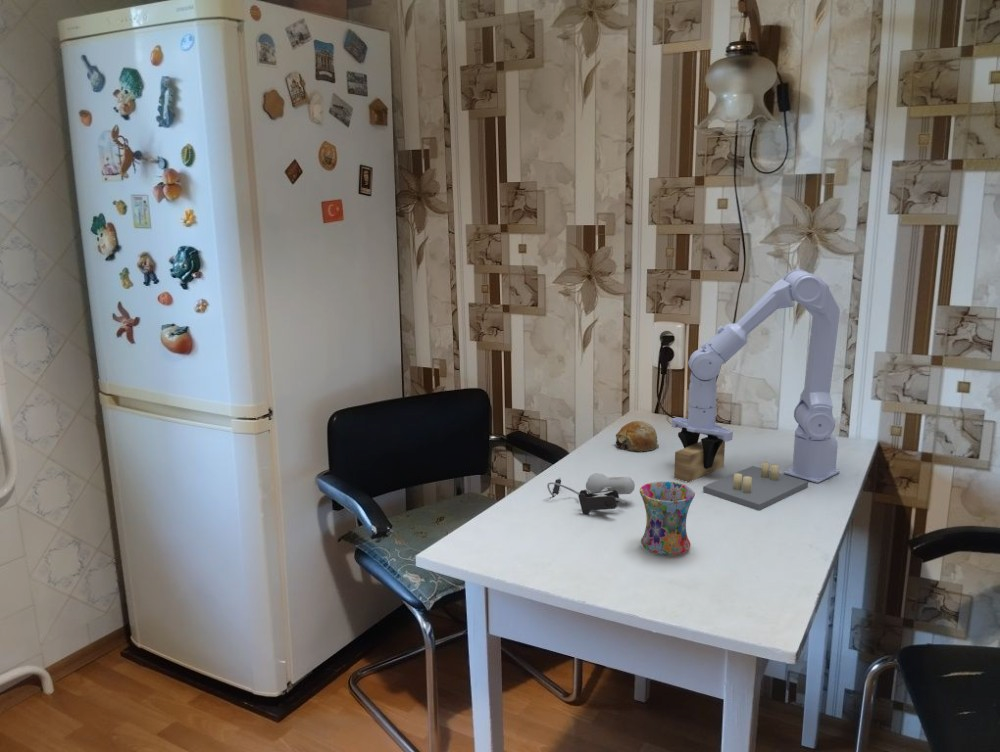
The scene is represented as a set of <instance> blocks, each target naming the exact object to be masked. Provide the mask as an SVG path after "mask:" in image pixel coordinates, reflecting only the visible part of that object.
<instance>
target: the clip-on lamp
mask: <svg viewBox="0 0 1000 752" xmlns="http://www.w3.org/2000/svg"><path fill="white" fill-rule="evenodd" d="M550 485H554V486H553V490H551V489H550ZM635 485H636V484H635V481H634V480H633V478H632V477H629V476H620V477H619V476H611V477H610V476H606V475H605V474H604V473H599V472H596V473H595V472H594V473H593V474H590V476H588V478H587V481H586V483H585V489H583V490H580V491H577V490H575V489H572V488H571V487H568V486H566V485H563V484H562V477H558V478H557V479H555V482H548V483H547V490H548V492H549V494H550V495H551V496H552V497H556V496H557V495H559V493H560V492H559V491H560V488H564V489H566V490H568V491H570V492H573V493H574V494H576V495H577V496H578V500H579V503H580V508H581V512H582V515H589V514H590V511H600V510H615V509H616V508H617V507H618V503H619V502H621V503H622V504H625V503H626V501H625V500H624V499H622V498H620V495H631V494H632V493H633V492H634V491H635V487H636V486H635Z"/></svg>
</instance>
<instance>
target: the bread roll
mask: <svg viewBox="0 0 1000 752" xmlns="http://www.w3.org/2000/svg"><path fill="white" fill-rule="evenodd" d="M615 438H616V439H615V444H616V445H617V446H618V447H619V448H620V449H621V448H622V449H621V450H624V449H627V450H626V451H628V450H630V452H636V451H642V452H650V451H649V450H651V451H654V450H655V449H658V448H659V447H660V446H659V444H658V435H657V431H656V429H655V428H654V426H653V425H651V424H650V423H648V422H645V421H643V420H635V421H631V422H630V421H629V423H626V424H625V425H623V426H622V427H621V428H620V430H618V432H617V433H616V434H615Z"/></svg>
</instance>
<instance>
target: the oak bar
mask: <svg viewBox="0 0 1000 752" xmlns="http://www.w3.org/2000/svg"><path fill="white" fill-rule="evenodd" d="M725 446H726V441H723V443H722V444H721V446H720V447H719V449H718V451H717V453H716V456H715V459H714V462H713V465H712V467H711V468H708V469H705V468H704V452H703V446H702V442H701V440H700V441H698V443H696V444H693V445H691V446H688V447H686V448H684V447H683V448H681V449H679V450H676V451H675V452H674V473H673V474H674V476H673V478H674V479H675V478H677V479H676V480H678V479H680V480H679V481H681V480H683V481H682V482H685V481H687V482H686V483H688V482H689V483H691V482H693V481H695V480H697V479H699V478H701V476H702V477H704V476H705V474H706V475H708V474H710V473H713V472H714V471H717V470H718V469H721V468H723V467H724V466H725V451H726V450H725V448H726V447H725ZM707 473H708V474H707ZM703 475H704V476H703ZM696 478H697V479H696ZM694 479H695V480H694ZM692 480H693V481H692ZM690 481H691V482H690Z"/></svg>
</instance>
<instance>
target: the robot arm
mask: <svg viewBox="0 0 1000 752" xmlns="http://www.w3.org/2000/svg"><path fill="white" fill-rule="evenodd" d="M794 301H795V302H797V303H798V304H800V305H801V306H802V307H803V308H804V309H805V310H806V312H808V313H809V314H810V315H811V316H812V318H811V319H812V320H811V328H810V338H809V343H808V345H809V346H808V351H807V352H808V353H807V363H806V372H805V380H804V388H803V390H802V391H801V393H800V397H799V401H798V403H797V404H796V406H795V408H794V410H793V418H794V420H795V422H796V423H797V424H798V425H797V427H796V429H795V431H794V440H793V441H794V443H793V454H792V455H793V457H792V458H793V459H792V467H790V468H789V469H788V468H787V469H786V470H784V471H783V474H784V475H787V476H791V477H794V478H798V479H801V480H805V481H808V482H813V483H816V484H817V483H818V484H819V483H820V482H823V481H824V480H827V479H829V478H831V477H833V476H835V475H837V474H840V472H841V471H840V470H839V469H836V468H837V457H838V440H837V438H836V437H835V435H834V434H833V433H834V431H835V428H836V420H835V418H834V416H833V408H834V406H833V402H832V397H831V388H832V379H833V378H832V377H833V371H834V363H835V353H836V346H837V337H838V330H839V322H840V312H841V311H840V307H839V304H838V303H837V302H836V301H837V300H836V299H835V298H834V295H833V294H832V292H831V290H830V285H829V284H828V283H827V282H826V281H824V280H823V279H822V278H820V276H818V275H817V274H813V273H810V272H809V271H806V270H804V269H799V268H797V269H792V270H791V271H788V272H787V274H785V275H784V276H783V278H780V279H779V280H777V281H776V282H775V283H774V284H773V285H772V286H771V288H770V289H768V291H767V292H765V293H764V294H763V296H762V297H761V298H760V299H759V300H758V301H757V302H755V304H754V305H753V306H752V307H750V309H748V310H747V312H746V313H745V314H744V315H743V316H742V317H741V318H740V319H739V320H738V321H737V322H736V323H726V324H725V325H724V326H722V325H719V327H718V328H716V331H717V333H716V334H714V336H712V337H711V338H710V339H709V340H708V341H707V342H706V343H704V342H703V343H702V344H700V349H696V350H694V352H692V353H691V355H690V357H689V360H688V361H687V364H688V367H689V369H690V370H691V371H690V376H689V380H690V382H689V385H688V387H689V389H688V390H689V393H688V411H687V415H688V417H687V418H682V417H678V416H677V417H674V418H671V428H674V429H676V428H679V429H681V431H679V432H678V433H677V436H678V438H679V440H680V441H681V444H682V446H683V449H684V448H686V447H688V446H691V445H693V444H696V443H698V442H699V439H700V435H705V436H706V437H703V438H701V439H700V441H701V442H702V446H703V452H704V468H705V469H708V468H711V467H712V465H713V462H714V459H715V456H716V453H717V451H718V449H719V447H720V446H721V444H722V443H723V441H725V443H728V442H730V441H733V436H734V435H733V430H729V429H727V428H724V427H722V426H721V425H718V424H716V415H717V412H716V411H717V390H718V385H717V376H718V375H720V371H721V366H722V365H725V364H726V363H727V362H728V361H729V360H730V359H731V358H733V357H734V356H735V355H736V354H737V353H738V352H739V351H741V349H742V348H743V347H744V346H746V344H747V342H748V335H749V334H750V333H752V331H754V330H755V329H756V328H757V327H758V326H759V325H761V323H763V322H764V321H765V320H766V319H767V318H768V319H769V317H770V316H771V315H772V314H774V313H775V312H776V311H777V310H779V309H780V310H781V309H787V308H788V309H789V308H794V307H795V304H794Z"/></svg>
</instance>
